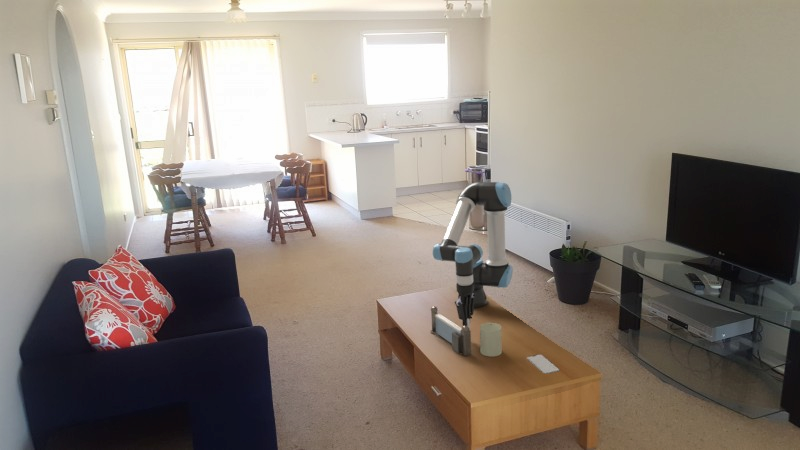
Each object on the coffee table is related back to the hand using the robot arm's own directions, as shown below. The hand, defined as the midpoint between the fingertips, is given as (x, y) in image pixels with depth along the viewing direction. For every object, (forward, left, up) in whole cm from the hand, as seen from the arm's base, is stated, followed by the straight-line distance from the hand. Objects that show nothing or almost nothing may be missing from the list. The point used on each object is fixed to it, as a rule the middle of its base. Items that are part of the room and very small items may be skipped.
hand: (466, 331), depth 261 cm
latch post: (+8, +9, -4) cm, 13 cm away
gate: (+8, -2, -3) cm, 9 cm away
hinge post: (+8, -15, -4) cm, 17 cm away
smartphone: (-13, +36, -5) cm, 39 cm away
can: (-2, +15, -4) cm, 16 cm away
